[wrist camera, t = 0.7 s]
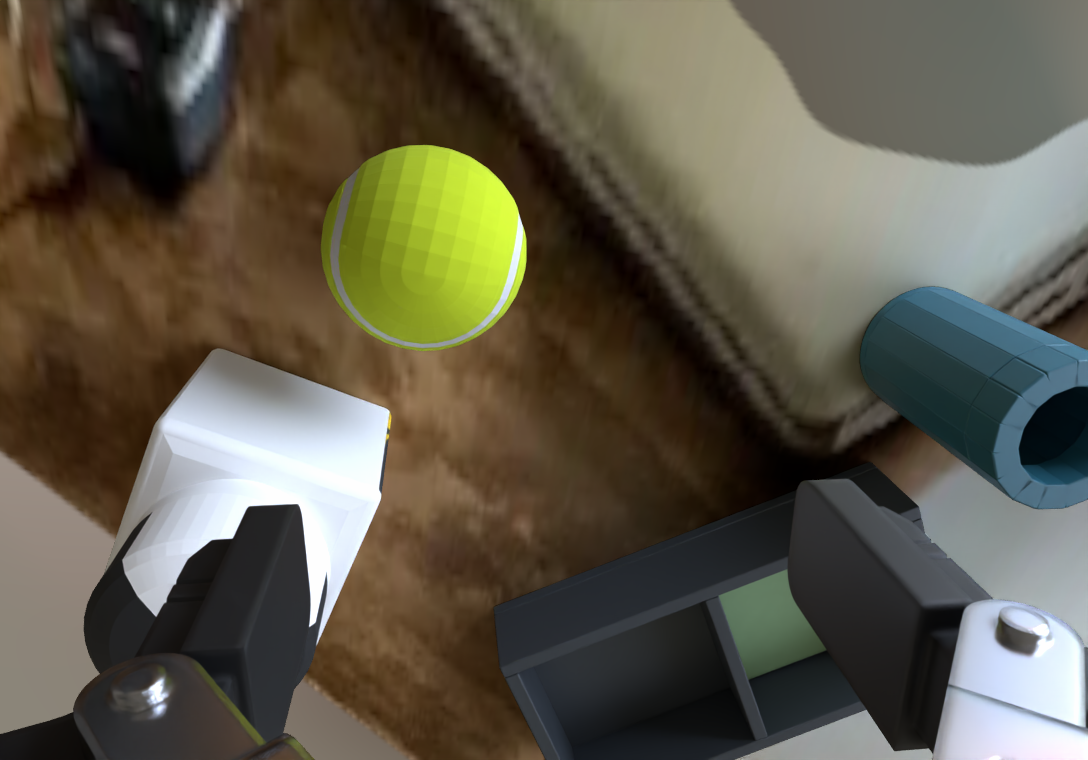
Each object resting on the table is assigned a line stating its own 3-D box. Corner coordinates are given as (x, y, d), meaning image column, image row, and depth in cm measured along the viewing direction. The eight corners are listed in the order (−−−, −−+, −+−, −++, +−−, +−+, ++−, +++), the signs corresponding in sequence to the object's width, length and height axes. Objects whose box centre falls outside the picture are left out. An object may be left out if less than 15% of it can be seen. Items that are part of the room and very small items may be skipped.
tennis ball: (491, 336, 32) (503, 401, 26) (317, 293, 31) (286, 352, 25) (539, 165, 30) (564, 192, 24) (354, 112, 29) (331, 126, 23)
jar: (847, 314, 34) (981, 397, 25) (968, 267, 34) (1142, 335, 25) (872, 421, 36) (1005, 531, 27) (987, 377, 36) (1154, 474, 27)
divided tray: (492, 606, 37) (499, 667, 33) (870, 460, 36) (919, 506, 33) (563, 750, 40) (575, 820, 37) (908, 618, 40) (957, 675, 36)
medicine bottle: (332, 553, 35) (282, 784, 24) (159, 499, 33) (18, 721, 22) (394, 408, 33) (373, 585, 22) (214, 342, 31) (90, 498, 20)
